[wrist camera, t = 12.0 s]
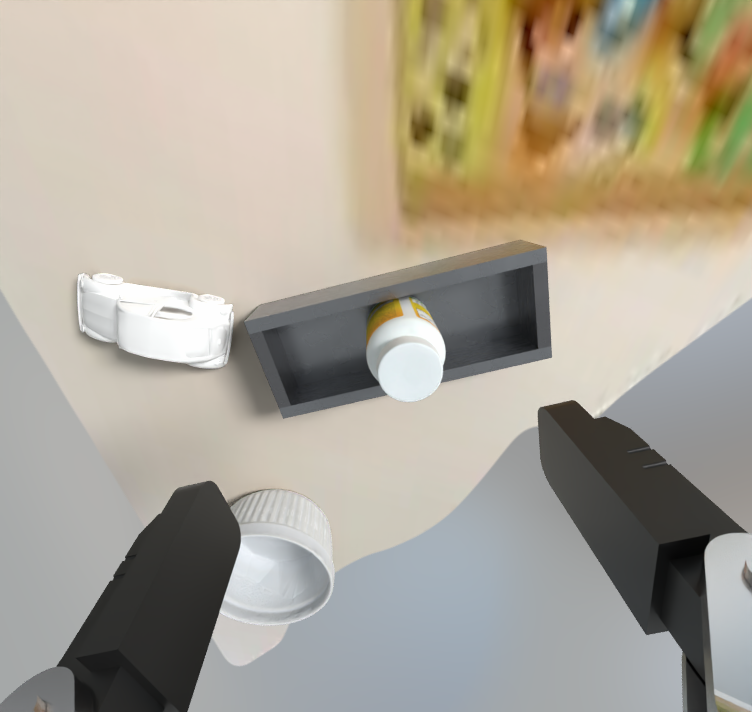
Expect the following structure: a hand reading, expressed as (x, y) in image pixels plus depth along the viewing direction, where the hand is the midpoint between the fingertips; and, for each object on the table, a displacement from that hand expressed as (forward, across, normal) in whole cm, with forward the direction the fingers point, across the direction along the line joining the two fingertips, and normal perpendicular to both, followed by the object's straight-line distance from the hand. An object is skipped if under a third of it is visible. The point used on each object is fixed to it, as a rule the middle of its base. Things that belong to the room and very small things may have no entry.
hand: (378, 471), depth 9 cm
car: (+24, +17, 0) cm, 30 cm away
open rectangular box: (+23, -2, +5) cm, 24 cm away
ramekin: (+23, +16, +25) cm, 38 cm away
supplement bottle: (+22, -2, +5) cm, 23 cm away
